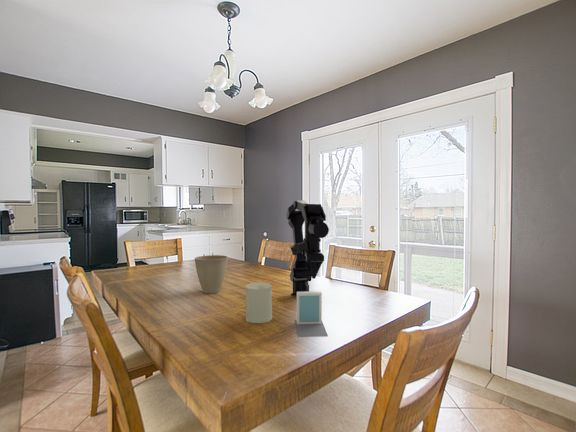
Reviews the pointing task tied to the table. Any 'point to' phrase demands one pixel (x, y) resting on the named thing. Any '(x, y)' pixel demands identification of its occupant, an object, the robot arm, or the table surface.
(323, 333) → the mat
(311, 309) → the tile
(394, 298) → the table surface
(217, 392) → the table surface
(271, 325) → the table surface
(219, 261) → the plant pot
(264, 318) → the can
